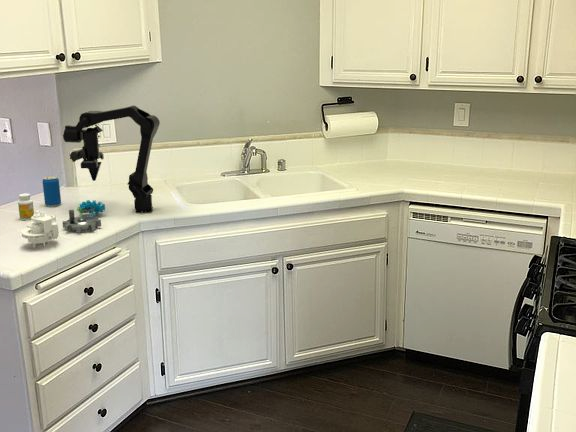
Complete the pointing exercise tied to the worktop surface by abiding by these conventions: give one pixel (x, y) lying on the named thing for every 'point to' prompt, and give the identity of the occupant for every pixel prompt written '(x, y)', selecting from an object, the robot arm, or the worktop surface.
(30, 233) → the mechanical part
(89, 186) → the worktop surface
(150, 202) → the robot arm
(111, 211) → the worktop surface
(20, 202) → the supplement bottle
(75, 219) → the sprocket
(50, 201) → the beverage can
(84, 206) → the gear
